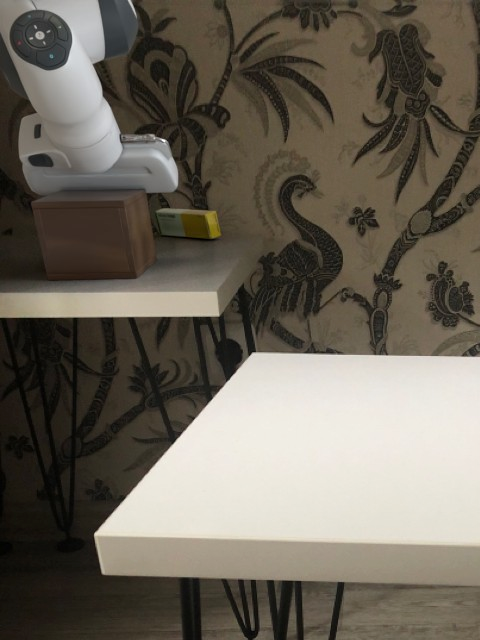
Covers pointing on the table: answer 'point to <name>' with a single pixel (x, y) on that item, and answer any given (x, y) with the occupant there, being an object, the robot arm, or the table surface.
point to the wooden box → (95, 234)
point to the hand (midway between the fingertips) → (117, 206)
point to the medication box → (188, 223)
